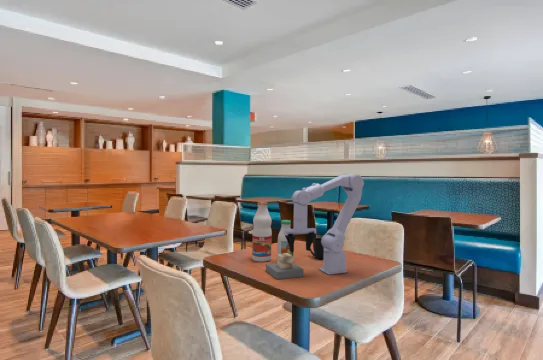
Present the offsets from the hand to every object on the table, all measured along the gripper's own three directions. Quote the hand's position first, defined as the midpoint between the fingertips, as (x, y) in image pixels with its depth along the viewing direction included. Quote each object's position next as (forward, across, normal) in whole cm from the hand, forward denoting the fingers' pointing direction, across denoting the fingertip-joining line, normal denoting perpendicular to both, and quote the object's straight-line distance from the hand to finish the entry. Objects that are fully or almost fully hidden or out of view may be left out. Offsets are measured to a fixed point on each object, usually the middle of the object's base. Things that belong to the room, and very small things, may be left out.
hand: (299, 251), depth 138 cm
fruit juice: (+10, -7, +27) cm, 29 cm away
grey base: (+10, -6, +3) cm, 12 cm away
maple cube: (+7, -6, +3) cm, 9 cm away
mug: (+10, +21, +21) cm, 31 cm away
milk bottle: (+10, +2, +19) cm, 22 cm away
